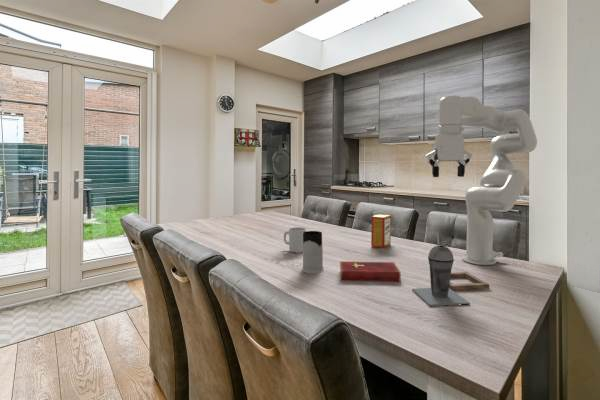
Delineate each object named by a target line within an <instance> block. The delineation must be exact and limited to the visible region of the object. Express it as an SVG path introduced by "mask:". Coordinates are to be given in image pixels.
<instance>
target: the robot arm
mask: <svg viewBox="0 0 600 400" xmlns="http://www.w3.org/2000/svg"><path fill="white" fill-rule="evenodd" d="M438 105H439V108H438V134H436V136H435V139H434V144H433V150H432V151H431V152H428V153H426V154H425V158H426V160H427V162H428V164H430V166H431V167H432V169H431V171H432V173H431V174H432V177H433V178H439V177H440V167H439V165H440V163H441V162H456V163H457V164H458V166H457V177H458V178H459V177H460V178H461V177H462V178H464V177H465V171H466V170H465V168H466V166H467V164H468V163H470V160H471V159H472V157H473V154H472V153H471V152H469V151H467V150H465V140H464V136H463V135H464V134H462V132H464V131H465V128H464V127H463V126H465V127H466V126H468V127H473V128H474V127H475V128H476V127H477V128H481V129H485V130H487V131H490V132H493V133H507V132H517V133H507V134H500V135H497V136H495V137H494V138H492V140H491V142H490V153H491V154H490V155H491V163H490V164H489V166H488V168H486V171H485V172H484V174H483V175H482V176H481V178H480V186H472V187H471V188H469V189H468V190H467V191H466V193H465V205H466V213H467V214H466V215H467V217H466V218H467V219H466V220H467V222H466V223H467V224H466V226H467V227H466V243H465V244H466V246H465V247H466V248H465V251H466V252H465V254H464V255H462V256H461V260H462V261H463V262H466V263H469V264H474V265H478V266H492V265H495V264H497V260H496V258H500V257H501V258H503V257H504V253H503V252H502V251H500V252H499V251H498V252H496V251H494V250H493V243H494V242H493V241H494V240H493V239H494V219H493V216H492V214H491V212H493V211H494V212H501V213H503V212H505V213H506V212H508V211H510V210H512V209H513V208H514V205H515V204H516V202H518V199H519V198H520V196H521V194H522V193H523V191H524V190H525V187H526V183H527V177H526V174H525V173H524V172H523V170H521V169H516V168H514V166H515V165H514V163H513V161H512V160H511V159H510V157H508V154H509V155H510V154H511V155H514V154H515V155H516V154H528V153H532V152H534V150H535V149H536V148H537V145H538V139H537V135H536V132H535V129H534V127H533V124H532V121H531V118H530V117H529V115H528V113H527V112H526V111H525V110H524V109H520V108H519V109H517V108H516V109H512V110H506V111H502V110H500V109H497V108H495V107H492V106H490V105H482V103H481V100H479V98H477V97H475V96H460V95H446V96H444V97H442V98H440V100H439V104H438ZM490 211H491V212H490Z"/></svg>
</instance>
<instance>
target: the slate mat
mask: <svg viewBox="0 0 600 400" xmlns="http://www.w3.org/2000/svg"><path fill="white" fill-rule="evenodd" d="M411 290H412V292H413V293H414V294H416V295H417V297H419V298H420V299H421V300H422V301H423V302H424V303H425V304H426V303H427V304H426V305H427V306H429V307H430V306H432V307H446V306H445V305H455V306H460V305H459V304H470V305H471V303H470V301H468V300H467V299H465V298H464V297H463V296H461V295H460V294H458V293H457V292H456V291H455V290H451V289H450V288H449V292H448V297H446V298H438V297H434V296H433V295H432V291H431V287H421V288H418V287H417V288H412V289H411Z"/></svg>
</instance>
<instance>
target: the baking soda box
mask: <svg viewBox="0 0 600 400" xmlns="http://www.w3.org/2000/svg"><path fill="white" fill-rule="evenodd" d="M391 223H392V215H391V214H380V213H378V214H374V215H373V216H371V239H370V240H371V242H370V243H371V246H370V247H372V248H377V249H385V248H386V249H387V248H388V247H389V246H391V242H392V241H391V238H392V237H391V235H392V232H391V230H392V226H391V225H392V224H391Z"/></svg>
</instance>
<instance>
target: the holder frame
mask: <svg viewBox="0 0 600 400" xmlns="http://www.w3.org/2000/svg"><path fill="white" fill-rule="evenodd" d="M454 278H455V279H458V278H459V279H460V278H461V279H463V278H465V279H467V280H468V281H470V282H472V283H453V282H451V281H450V284H449V288H450V289H451V290H452V291H469V290H470V291H471V290H473V289H474V290H475V289H476V290H490V283H487V282H485V281H484V280H482V279H481V278H479V277H477V276H475V275H473V274H471V273H469V272H467V271H457V272H455V271H453V272H452V271H451V277H450V279H454Z"/></svg>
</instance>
